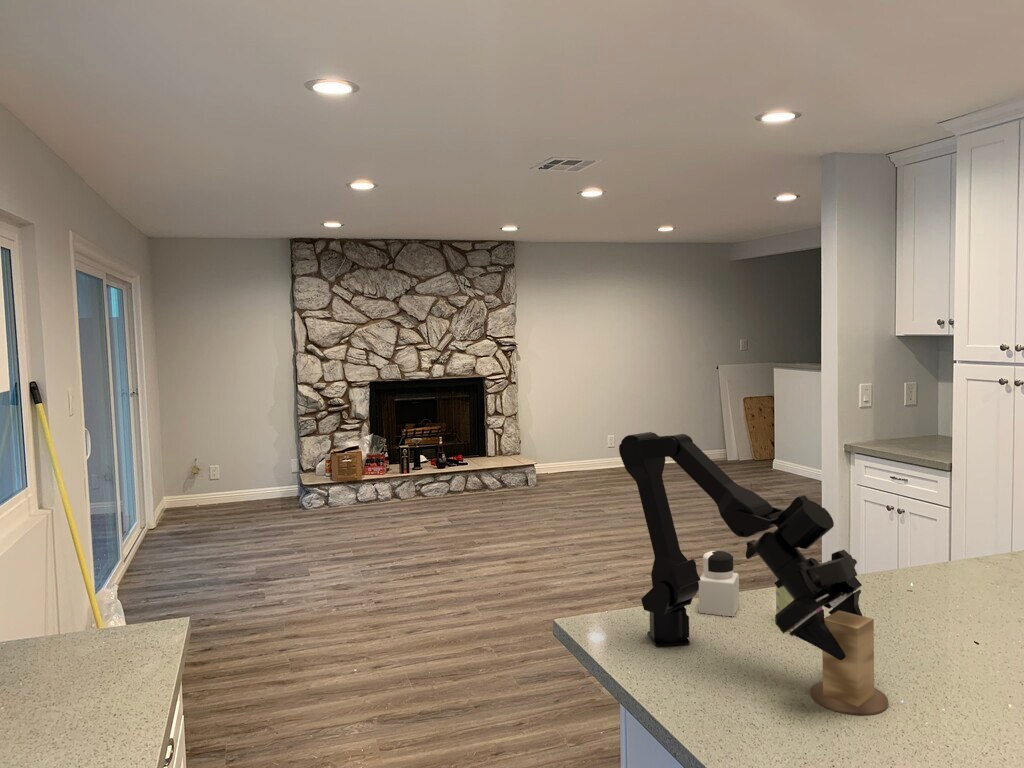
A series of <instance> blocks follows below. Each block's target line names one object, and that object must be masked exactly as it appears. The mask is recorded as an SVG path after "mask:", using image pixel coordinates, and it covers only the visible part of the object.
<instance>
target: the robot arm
mask: <svg viewBox="0 0 1024 768" xmlns="http://www.w3.org/2000/svg"><path fill="white" fill-rule="evenodd" d="M618 452H619V456H620V459H621V461H622V463H623V466H624V469H625V470H626V471H627V472H628V475H630V476H631V478H632V479H633V480H634V481H635V483H636V487H637V489H638V495H639V498H640V502H641V505H642V510H643V513H644V519H645V523H646V527H647V530H648V531H647V532H648V534H649V539H650V543H651V546H652V547H651V548H652V551H653V555H654V556H653V557H654V560H653V563H652V569H651V573H650V578H651V584H652V585H651V586H652V588H651V589H650V590H649V591H647V593H646V594H644V596H642V597H641V598H640V601H641V604H642V605H641V606H642V607H643V610H644V611H646V612H649V630H648V631H647V636H648V638H649V639H650V641H651V642H652V643H653V644H654V646H655V647H669V646H671V647H672V646H683V645H684V646H685V645H690V643H691V641H690V640H689V637H690V616H689V615H688V614H687V608H686V606H690V605H691V604H692V602H693V598H694V597H695V596H696V595H697V593H698V590H699V583H698V581H700V580H701V579H700V577H701V576H699V574H698V571H697V570H698V569H697V563H696V561H695V559H694V558H691V559H687V557H686V556H685V555H684V553H683V552H682V551H681V547H680V544H679V539H678V535H677V532H676V527H675V523H674V519H673V516H672V512H671V508H670V503H669V500H668V497H667V491H666V487H665V484H664V479H663V474H664V468H665V465H666V458H669V457H670V458H671V459H672V460H673V461H674V462H675V463H676V464H677V465H678V466H679V467H680V468H681V470H683V471H684V472H685V473H686V474H687V475H688V477H690V478H691V479H692V480H693V481H694V483H696V484H697V485H698V487H700V489H702V490H703V491H704V492H705V493H706V494H707V495H708V497H710V498H711V499H712V501H713V502H714V503H715V504H716V506H717V510H718V513H719V515H720V517H721V519H722V520H723V521H724V523H725V524H726V526H727V528H729V530H730V531H731V533H733V534H734V535H735V536H737V537H739V538H749V537H751V536H754V535H757V534H761V533H762V532H764V533H763V534H762V535H761V536H760V537H759V538H757V539H752V540H750V541H747V542H746V551H745V558H746V559H748V560H750V559H752V558H754V557H757V556H759V558H760V559H761V560H762V561H763V563H764V564H765V565H766V566H767V567H768V569H769V570H770V572H771V573H772V574H773V575H774V577H775V579H776V578H777V579H778V581H776V580H775V582H774V583H773V584H774V585H775V587H776V586H777V587H778V588H781V587H784V588H785V589H786V590H787V592H788V593H789V594H790V595H791V597H792V598H793V599H794V600H793V601H792V602H791V603H790V604H788V605H787V606H786V607H785V608H784V609H782V610H781V611H780V612H779V613H777V614H776V613H775V615H774V617H775V618H774V619H775V620H774V622H775V623H774V624H775V625H776V627H777V628H778V629H779V630H780V632H781V634H786V633H787V632H789V635H790V636H791V637H793V636H794V637H797V638H799V639H800V640H803V641H805V642H807V643H808V644H811V645H812V646H814V647H816V648H818V649H819V650H823V651H825V652H826V653H828V654H830V655H832V656H833V657H835V658H837V659H839V660H843V659H844V658H846V655H845V653H844V652H843V650H842V648H841V647H840V645H839V644H838V642H837V641H836V639H835V638H834V636H833V635H832V633H831V632H830V630H829V629H828V627H827V626H826V625H825V621H824V618H825V610H824V609H822V610H821V611H819V612H816V610H817V609H819V608H821V607H822V608H823V607H824V608H826V609H828V610H829V611H828V612H827V613H828V614H829V615H831V614H833V613H835V612H837V611H838V610H839V611H843V612H847V613H851V614H856V615H860V616H863V614H862V611H861V609H860V605H859V600H860V595H861V593H862V590H861V589H860V588H861V587H862V586H863V585H862V583H861V581H860V580H858V578H857V576H858V572H857V570H856V569H855V568H856V565H857V564H858V561H857V560H856V559H855V558H853V557H852V555H851V554H849V552H847V551H846V550H845V549H841V550H837V551H835V552H833V553H831V556H830V557H831V559H829V560H828V561H824V562H821V563H819V561H817V559H816V558H815V557H814V558H813V557H809V558H806V556H805V555H804V554H803V552H802V551H801V550H800V549H802V550H808V549H810V548H811V547H812V546H813V545H814V544H815V543H816V542H818V541H819V540H820V539H821V538H823V536H825V535H826V534H827V533H828V532H829V531H830V530H832V529H833V528H834V524H835V523H834V520H833V517H832V515H831V514H830V512H829V511H828V510H827V509H826V508H825V507H822V506H821V505H820V504H819V503H817V502H815V501H814V500H810V499H808V497H807V496H806V494H801V495H799V496H797V497H796V498H794V499H793V500H792V502H791V503H790V505H788V507H787V508H786V509H781V508H778V507H774V506H772V505H771V503H770V502H769V501H767V500H765V498H763V497H761V496H760V495H759V494H757V493H755V492H754V491H752V490H750V489H748V488H745V487H743V486H741V485H739V484H738V483H736V482H735V481H734V479H731V477H730V476H729V475H728V474H726V472H725V471H724V470H723V469H721V467H719V466H718V465H717V464H716V462H714V461H713V460H712V459H711V458H710V457H709V456H708V455H707V454H706V453H705V452H704V451H702V449H700V448H699V447H698V445H696V443H694V442H693V439H692V438H691V436H690V435H688V434H685V433H679V434H672V435H658V434H656V433H655V432H652V431H650V432H649V431H647V432H642V433H641V432H640V433H636V434H629V435H628V434H627V435H626V436H624V438H623V439H622V440H621V442H620V444H619V446H618ZM773 528H777V529H776V530H774V531H773V532H771V531H768V530H769V529H773ZM799 548H800V549H799ZM793 628H795V629H794V630H793V631H792V632H791V631H790V630H791V629H793Z"/></svg>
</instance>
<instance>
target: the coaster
mask: <svg viewBox="0 0 1024 768" xmlns="http://www.w3.org/2000/svg"><path fill="white" fill-rule="evenodd" d="M810 696H811V698H812V700H813V701H814V702H815V703H817V704H818V705H820V706H821V707H823V708H825V709H828V710H830V711H832V712H835V713H840V714H844V715H851V716H873V715H877V714H881V713H883V712H885V711H886V710H887V709H888V707H889V699H888V697H887V695H886V694H885V693H884V692H882V691H881V690H879V689H878V688H876V687H874V696H872V697H871V698H870V699H868V700H867V701H866V702H864V703H863V704H861V705H860V706H859V707H857V706H854V705H851V704H848V703H845V702H842V701H839V700H836V699H833V698H830V697H827V696H824V695H823V680H822V681H819V682H816V683H815V684H813V685H812V686H811V688H810Z"/></svg>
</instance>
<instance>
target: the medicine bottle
mask: <svg viewBox="0 0 1024 768" xmlns="http://www.w3.org/2000/svg"><path fill="white" fill-rule="evenodd" d="M702 557H703V559H702V565H703V566H702V567H703V568H702V569H703V572H702V574H701V575H700V576H699V577H700V579H701V580H700V581H698V583H699V590H698V591H697V593H698V613H700V614H704V613H705V615H712V614H713V615H714V616H721V615H722V617H729V616H732V617H731V618H733V616H734V617H735V615H736V613H737V611H738V608H739V607H740V583H739V582H740V581H739V578H740V577H739V573H737V572H734V556H733V554H731V553H729V552H727V551H724V550H710V551H707V552H705V553H704V554H703V556H702Z"/></svg>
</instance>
